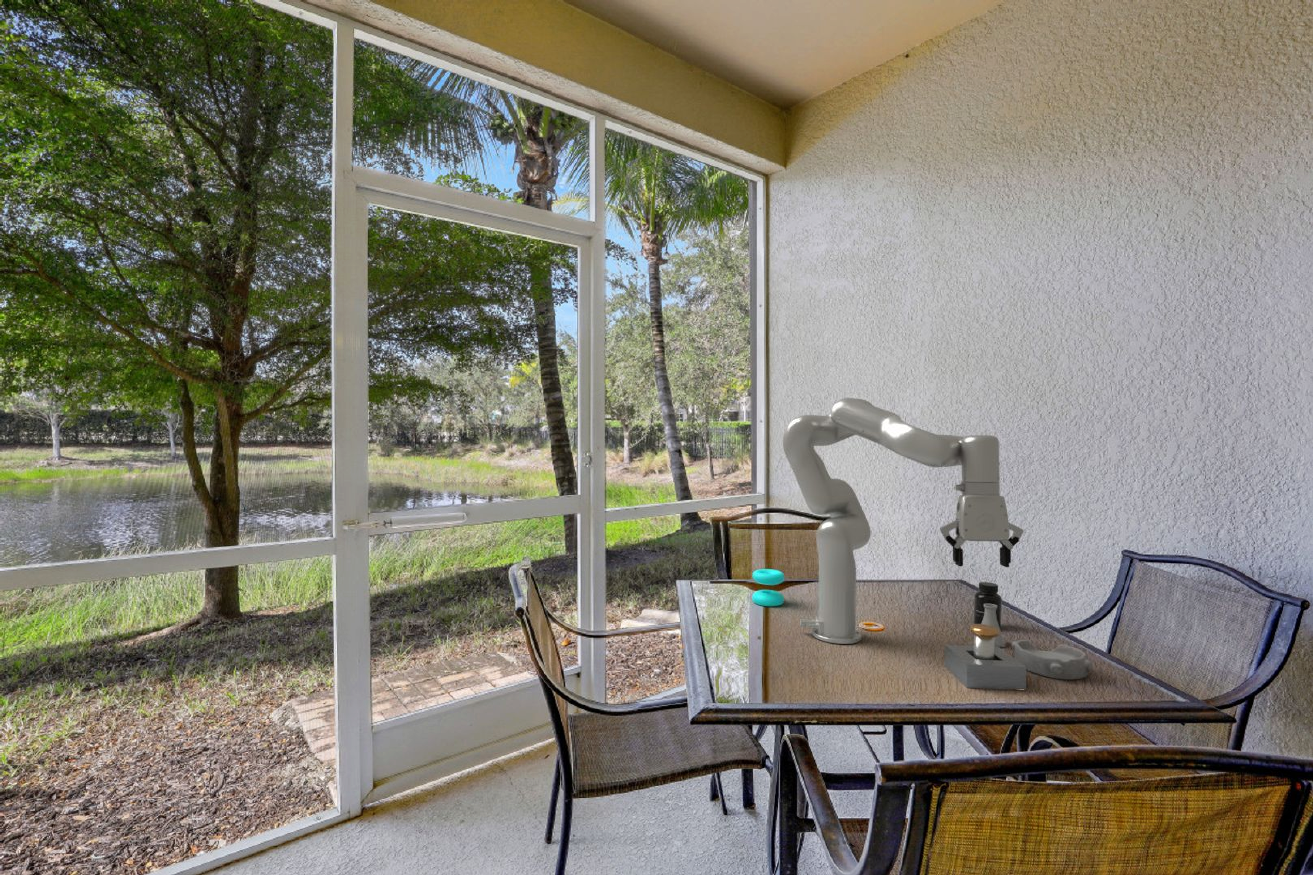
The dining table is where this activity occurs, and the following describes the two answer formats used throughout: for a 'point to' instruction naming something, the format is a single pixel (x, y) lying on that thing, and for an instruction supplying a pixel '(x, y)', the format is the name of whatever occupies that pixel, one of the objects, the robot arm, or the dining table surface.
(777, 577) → the donuts
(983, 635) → the pin
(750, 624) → the dining table surface
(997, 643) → the flask
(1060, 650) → the dish
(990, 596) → the supplement bottle
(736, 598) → the dining table surface
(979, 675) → the gray square-hole block
